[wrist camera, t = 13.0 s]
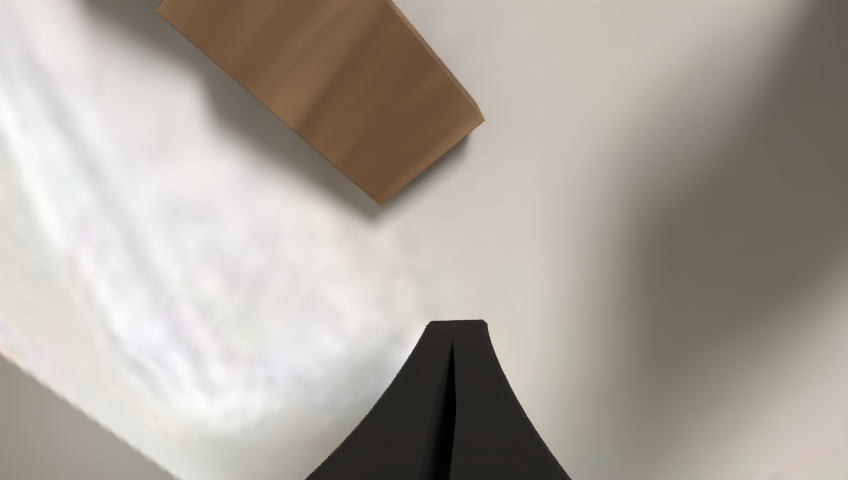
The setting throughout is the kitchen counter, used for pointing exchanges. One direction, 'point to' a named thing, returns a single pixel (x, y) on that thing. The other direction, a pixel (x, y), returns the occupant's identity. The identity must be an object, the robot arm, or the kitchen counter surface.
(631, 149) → the kitchen counter surface
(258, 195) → the kitchen counter surface
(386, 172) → the domino
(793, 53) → the kitchen counter surface
